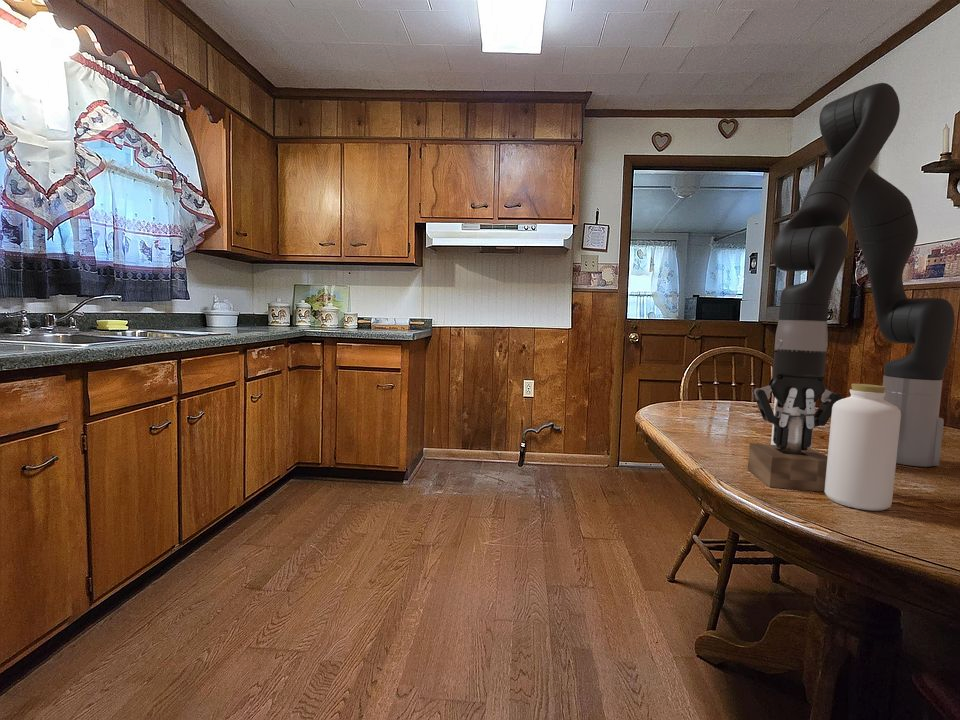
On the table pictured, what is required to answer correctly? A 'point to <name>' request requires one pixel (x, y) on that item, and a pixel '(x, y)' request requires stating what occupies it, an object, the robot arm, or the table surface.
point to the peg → (794, 435)
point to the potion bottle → (863, 449)
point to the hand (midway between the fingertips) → (791, 448)
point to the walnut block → (788, 467)
